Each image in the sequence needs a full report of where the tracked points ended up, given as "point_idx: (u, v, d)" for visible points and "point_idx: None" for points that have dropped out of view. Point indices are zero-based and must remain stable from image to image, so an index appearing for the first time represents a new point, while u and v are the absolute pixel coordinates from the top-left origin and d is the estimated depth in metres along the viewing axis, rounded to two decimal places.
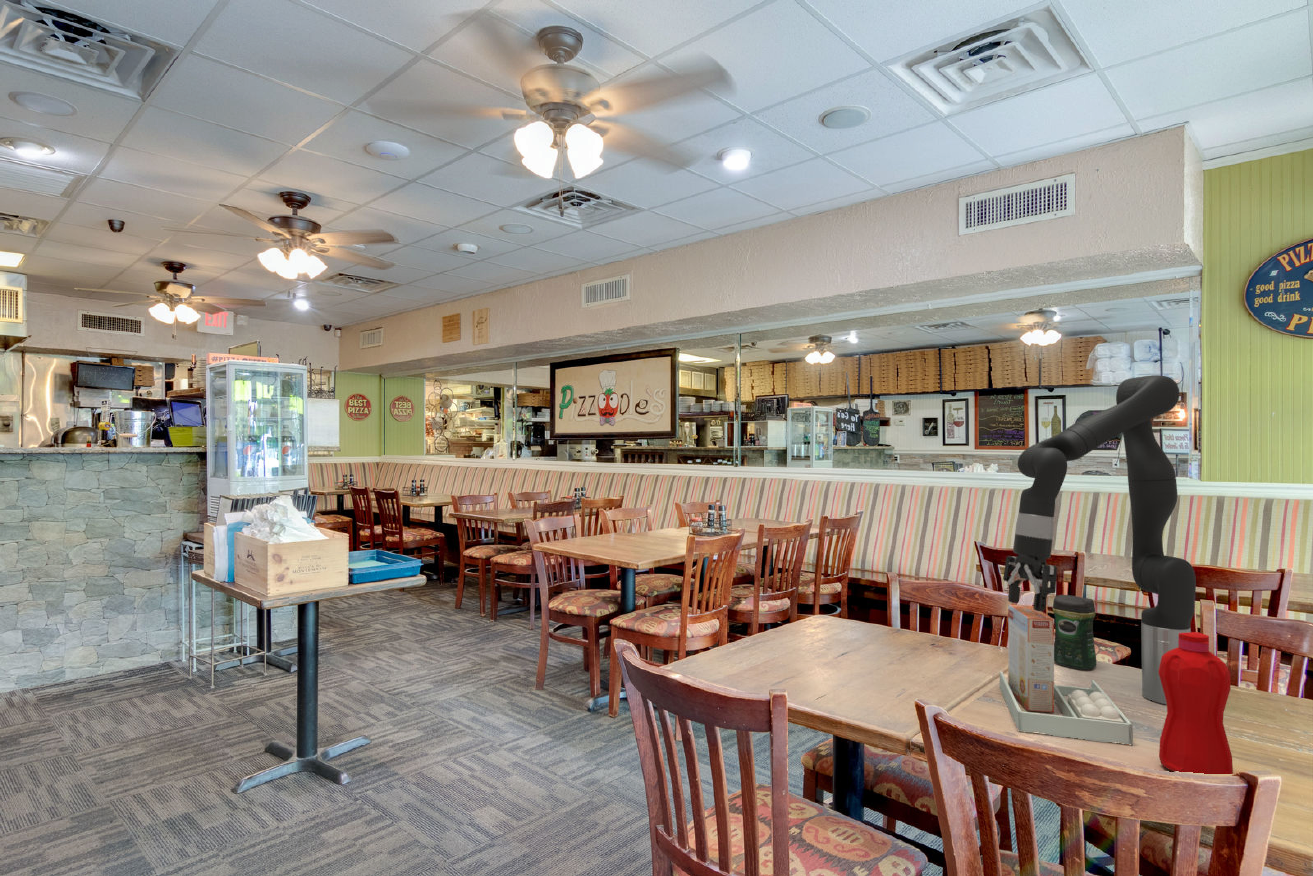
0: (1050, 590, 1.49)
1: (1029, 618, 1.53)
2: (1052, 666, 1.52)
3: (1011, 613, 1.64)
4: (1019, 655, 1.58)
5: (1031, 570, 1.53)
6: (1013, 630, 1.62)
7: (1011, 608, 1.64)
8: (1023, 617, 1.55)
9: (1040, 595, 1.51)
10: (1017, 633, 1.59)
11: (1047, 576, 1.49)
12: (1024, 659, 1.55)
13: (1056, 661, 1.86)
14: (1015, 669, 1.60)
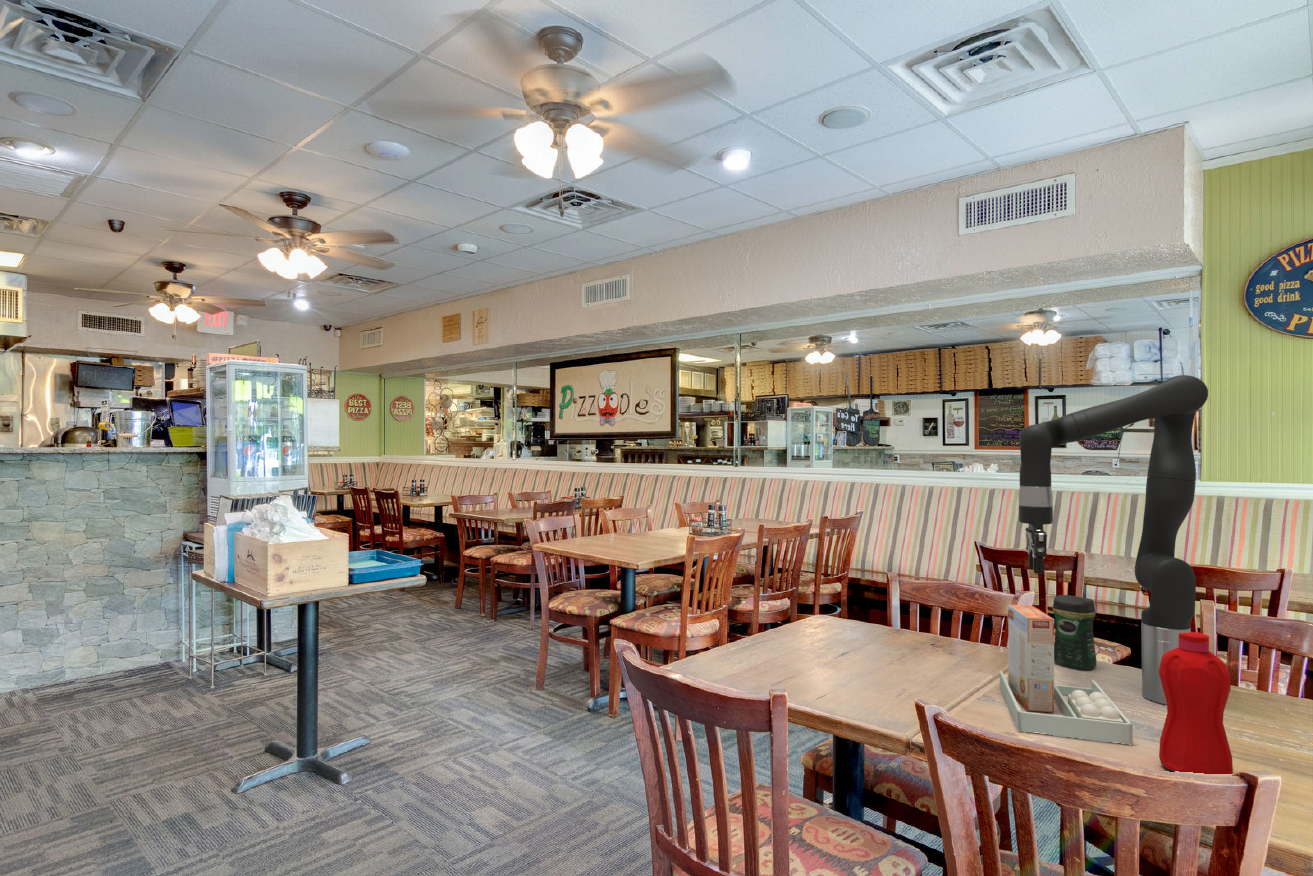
0: (1040, 555, 1.67)
1: (1029, 618, 1.53)
2: (1052, 666, 1.52)
3: (1011, 613, 1.64)
4: (1019, 655, 1.58)
5: (1031, 537, 1.71)
6: (1013, 630, 1.62)
7: (1011, 608, 1.64)
8: (1023, 617, 1.55)
9: (1036, 559, 1.69)
10: (1017, 633, 1.59)
11: (1036, 543, 1.67)
12: (1024, 659, 1.55)
13: (1056, 661, 1.86)
14: (1015, 669, 1.60)
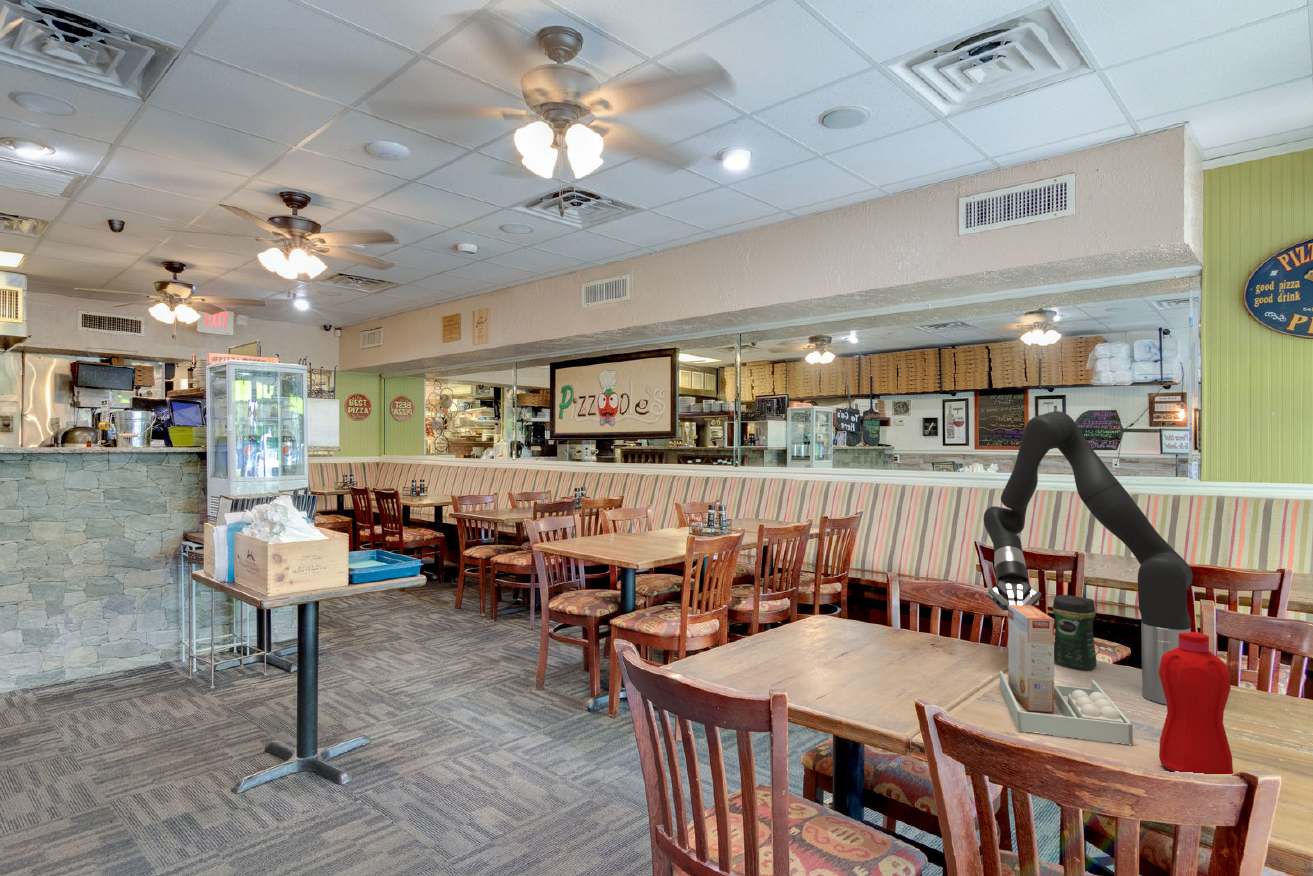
0: (1002, 606, 1.79)
1: (1029, 618, 1.53)
2: (1052, 666, 1.52)
3: (1011, 613, 1.64)
4: (1019, 655, 1.58)
5: None
6: (1013, 630, 1.62)
7: (1011, 608, 1.64)
8: (1023, 617, 1.55)
9: None
10: (1017, 633, 1.59)
11: None
12: (1024, 659, 1.55)
13: (1056, 661, 1.86)
14: (1015, 669, 1.60)
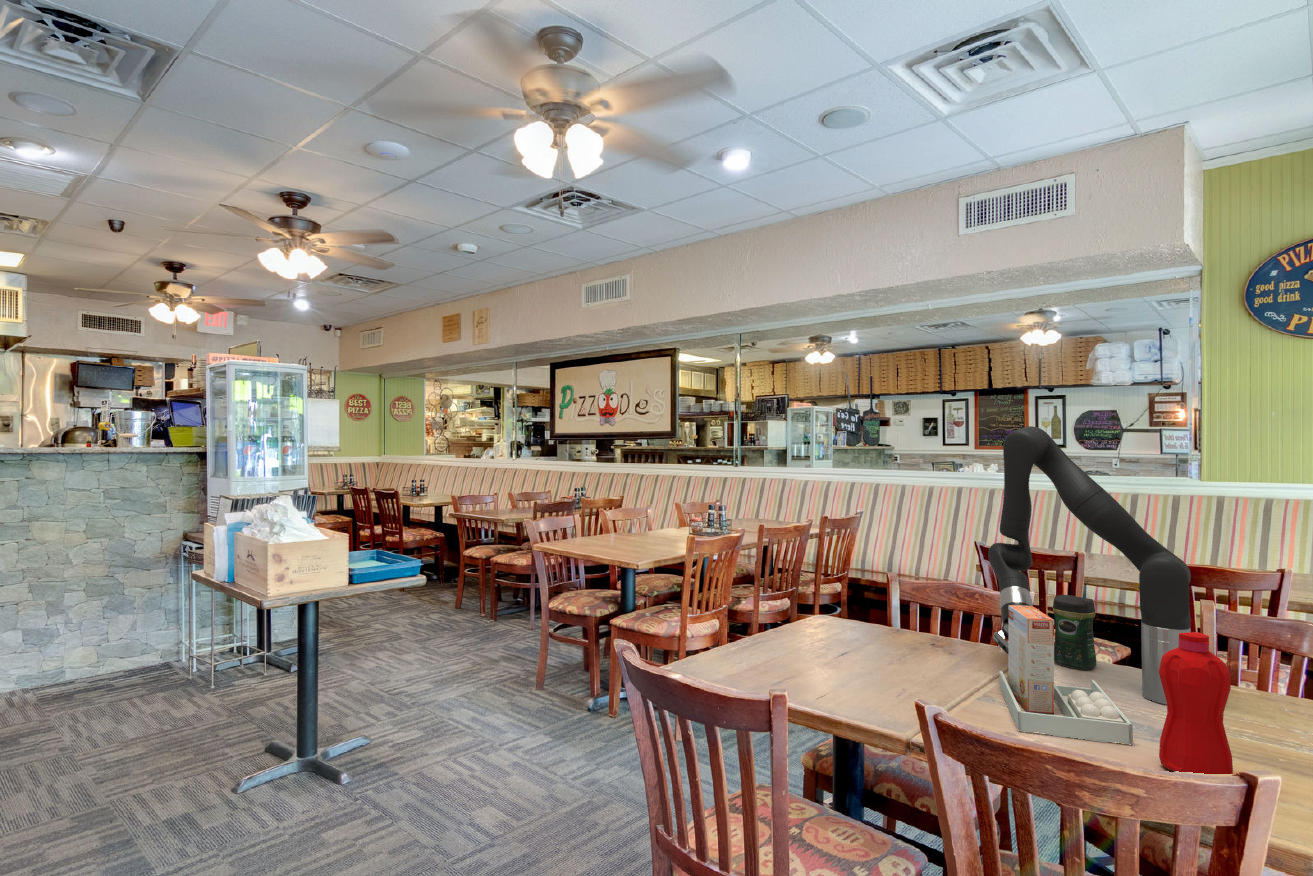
0: (1008, 652, 1.70)
1: (1029, 619, 1.52)
2: (1052, 667, 1.51)
3: (1011, 614, 1.63)
4: (1019, 655, 1.57)
5: None
6: (1013, 631, 1.61)
7: (1011, 609, 1.63)
8: (1023, 618, 1.55)
9: None
10: (1017, 633, 1.59)
11: (999, 645, 1.72)
12: (1023, 660, 1.54)
13: (1056, 661, 1.86)
14: (1015, 670, 1.60)
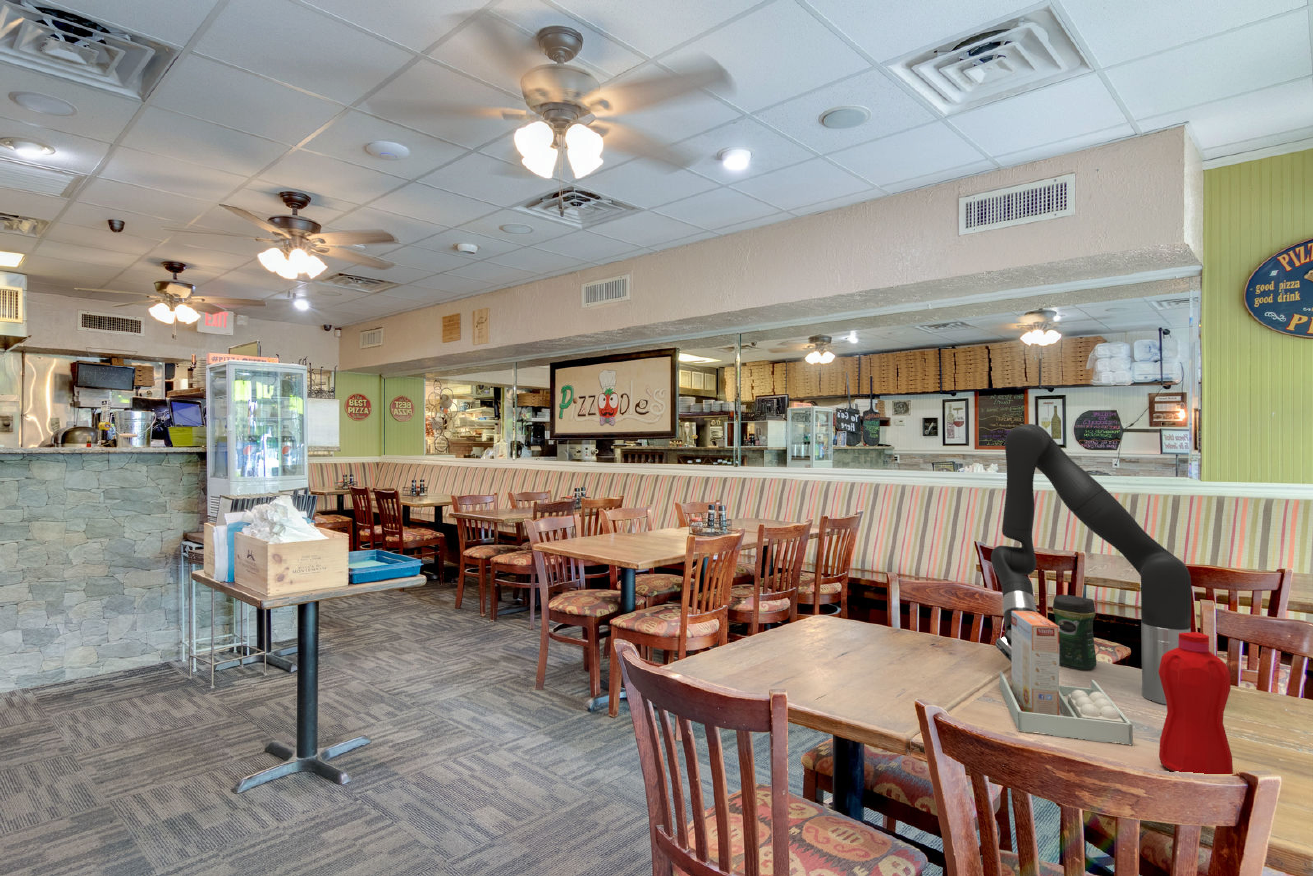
0: (1011, 659, 1.64)
1: (1033, 625, 1.47)
2: (1057, 675, 1.45)
3: (1014, 620, 1.57)
4: (1022, 663, 1.51)
5: None
6: (1016, 637, 1.56)
7: (1014, 614, 1.58)
8: (1027, 624, 1.49)
9: None
10: (1020, 640, 1.53)
11: (1002, 652, 1.66)
12: (1027, 668, 1.48)
13: None
14: (1018, 678, 1.54)
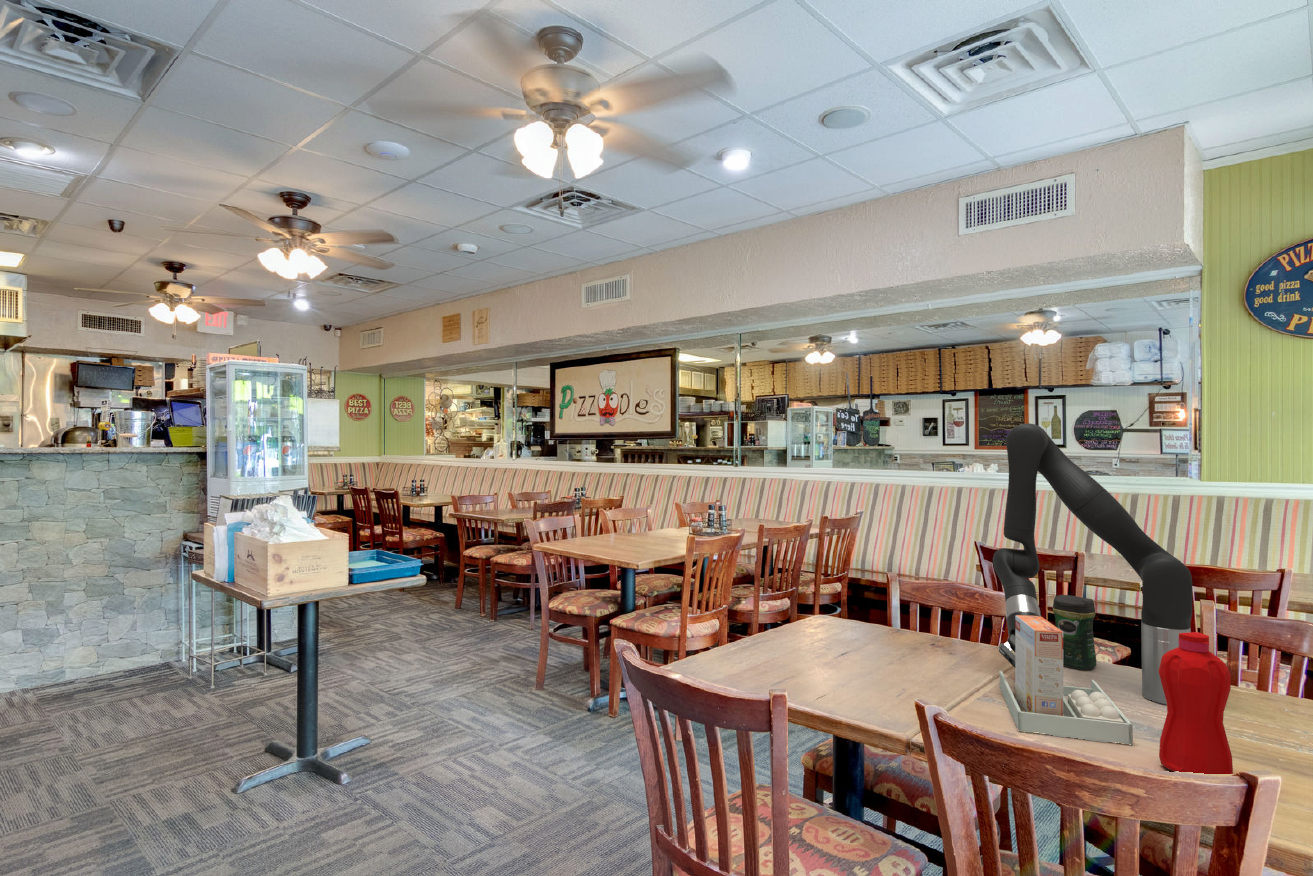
0: None
1: (1036, 630, 1.42)
2: (1061, 682, 1.41)
3: (1018, 624, 1.53)
4: (1026, 669, 1.47)
5: None
6: (1020, 643, 1.51)
7: (1018, 619, 1.53)
8: (1030, 629, 1.45)
9: None
10: (1024, 646, 1.49)
11: (1005, 657, 1.62)
12: (1030, 674, 1.44)
13: None
14: (1022, 685, 1.50)
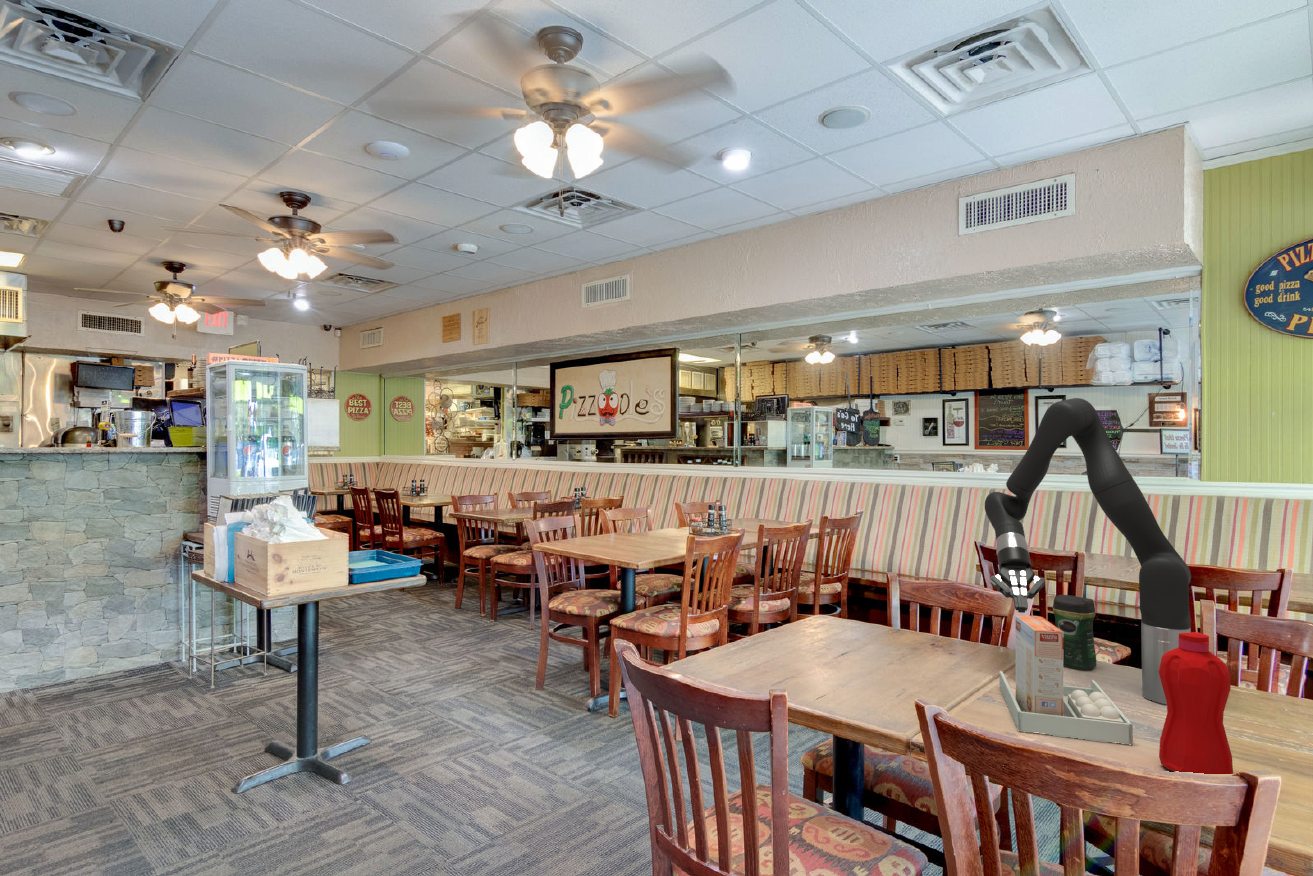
0: (1005, 594, 1.74)
1: (1036, 631, 1.42)
2: (1061, 683, 1.41)
3: (1018, 624, 1.53)
4: (1026, 669, 1.47)
5: None
6: (1020, 643, 1.51)
7: (1018, 619, 1.53)
8: (1030, 629, 1.45)
9: None
10: (1024, 646, 1.49)
11: (996, 588, 1.77)
12: (1030, 674, 1.44)
13: None
14: (1022, 685, 1.50)
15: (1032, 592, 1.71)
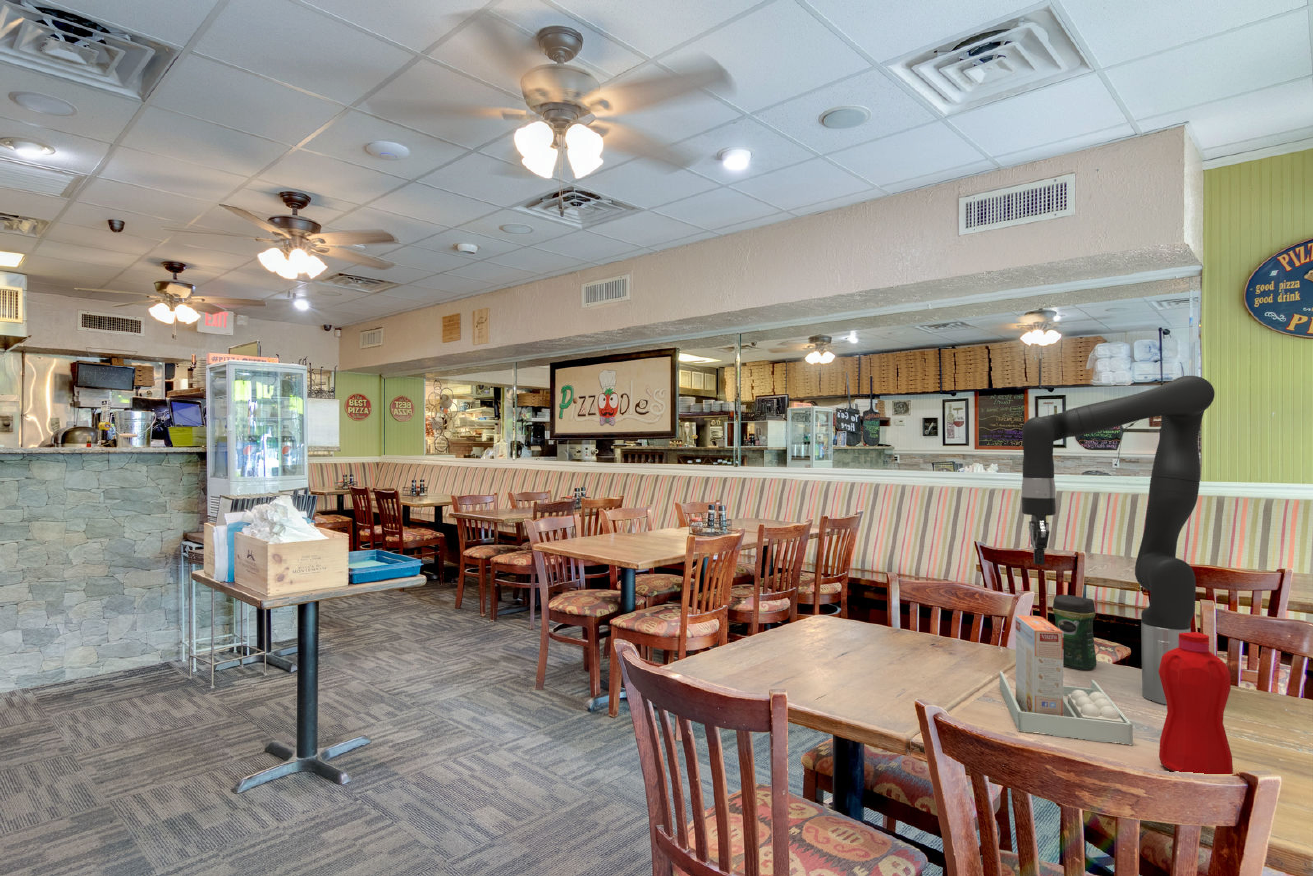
0: (1041, 547, 1.72)
1: (1036, 631, 1.42)
2: (1061, 683, 1.41)
3: (1018, 624, 1.53)
4: (1026, 669, 1.47)
5: (1033, 529, 1.74)
6: (1020, 643, 1.51)
7: (1018, 619, 1.53)
8: (1030, 629, 1.45)
9: (1036, 551, 1.74)
10: (1024, 646, 1.49)
11: (1038, 539, 1.70)
12: (1030, 674, 1.44)
13: None
14: (1022, 685, 1.50)
15: None
